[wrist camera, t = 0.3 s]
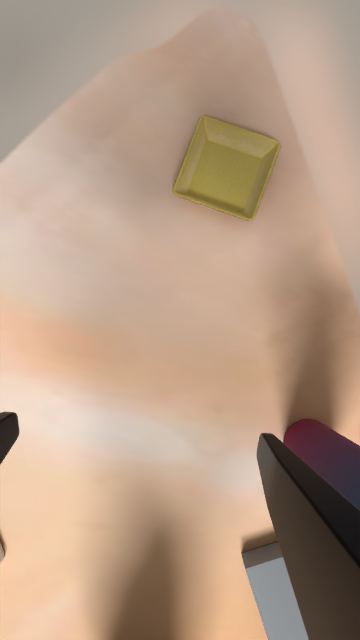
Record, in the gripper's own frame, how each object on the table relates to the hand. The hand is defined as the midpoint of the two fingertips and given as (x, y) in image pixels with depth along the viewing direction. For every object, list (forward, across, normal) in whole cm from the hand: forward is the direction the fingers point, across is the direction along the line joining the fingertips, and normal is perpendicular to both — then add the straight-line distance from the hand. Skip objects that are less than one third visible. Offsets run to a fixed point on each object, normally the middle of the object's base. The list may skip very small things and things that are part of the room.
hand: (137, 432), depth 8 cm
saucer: (+21, -4, -15) cm, 26 cm away
